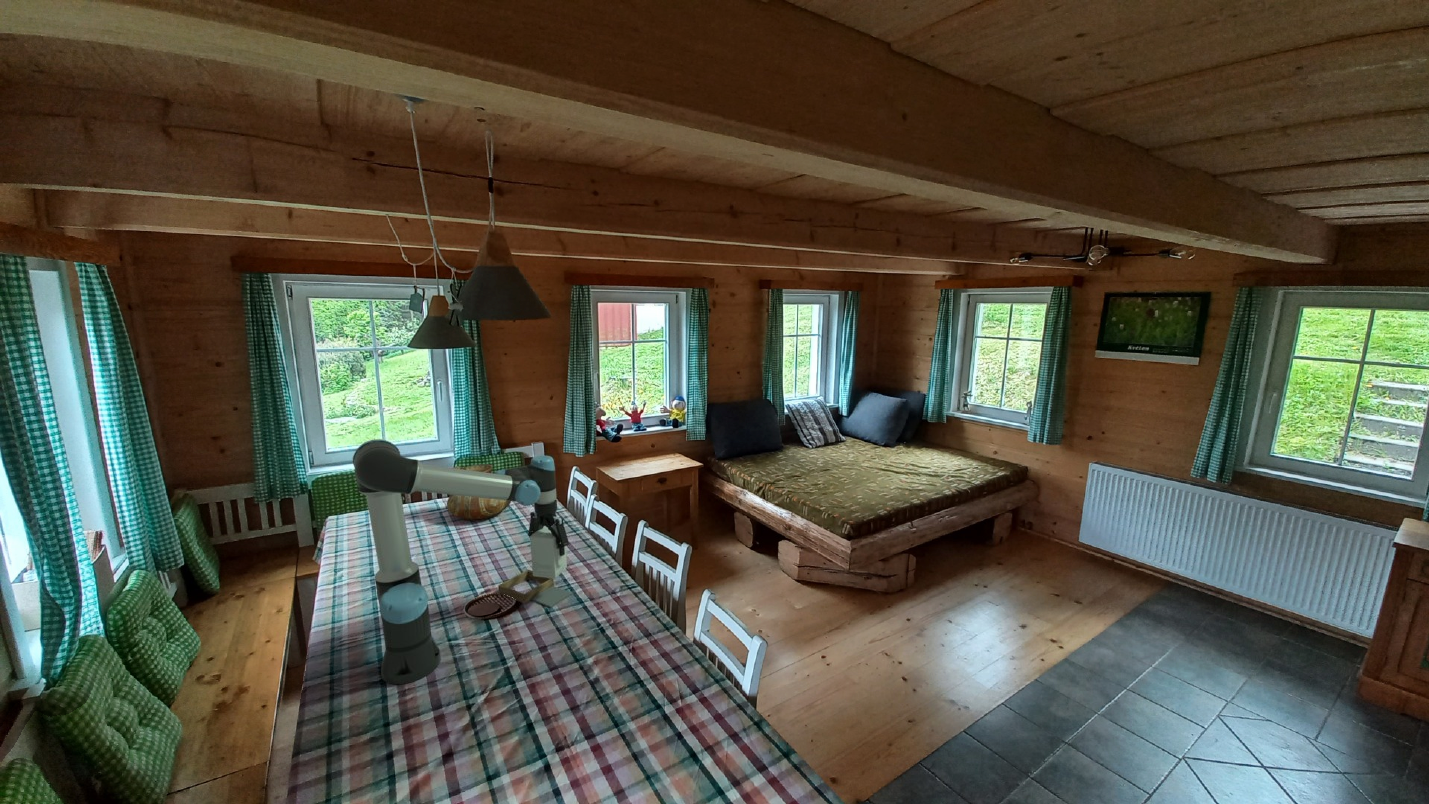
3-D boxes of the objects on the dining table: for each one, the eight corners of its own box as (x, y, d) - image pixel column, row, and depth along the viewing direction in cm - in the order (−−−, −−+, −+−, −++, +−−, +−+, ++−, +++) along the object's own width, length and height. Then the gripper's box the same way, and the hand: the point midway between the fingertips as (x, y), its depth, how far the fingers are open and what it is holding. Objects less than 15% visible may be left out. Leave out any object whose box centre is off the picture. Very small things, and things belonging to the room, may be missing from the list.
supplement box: (567, 566, 195) (565, 528, 192) (555, 579, 186) (553, 538, 183) (545, 564, 197) (542, 525, 194) (531, 576, 188) (529, 536, 185)
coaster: (550, 607, 186) (550, 606, 186) (531, 599, 191) (530, 598, 191) (572, 594, 195) (572, 593, 195) (552, 587, 200) (552, 585, 200)
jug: (502, 498, 290) (498, 453, 286) (523, 514, 267) (519, 466, 263) (442, 512, 272) (437, 464, 267) (458, 531, 249) (453, 479, 244)
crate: (524, 603, 189) (523, 595, 189) (498, 593, 196) (498, 585, 195) (553, 586, 201) (553, 578, 200) (528, 576, 208) (528, 569, 207)
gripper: (577, 503, 184) (581, 563, 188) (531, 491, 195) (535, 548, 199) (560, 510, 177) (565, 572, 182) (514, 497, 189) (519, 556, 193)
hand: (549, 559), depth 191 cm, fingers closed on supplement box, 10 cm apart
